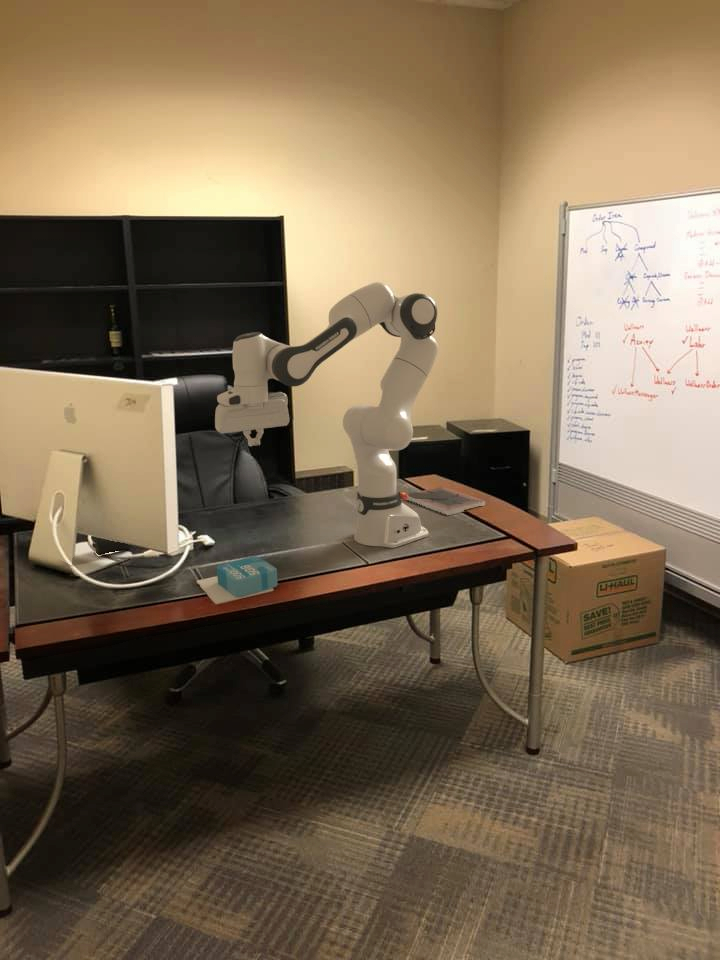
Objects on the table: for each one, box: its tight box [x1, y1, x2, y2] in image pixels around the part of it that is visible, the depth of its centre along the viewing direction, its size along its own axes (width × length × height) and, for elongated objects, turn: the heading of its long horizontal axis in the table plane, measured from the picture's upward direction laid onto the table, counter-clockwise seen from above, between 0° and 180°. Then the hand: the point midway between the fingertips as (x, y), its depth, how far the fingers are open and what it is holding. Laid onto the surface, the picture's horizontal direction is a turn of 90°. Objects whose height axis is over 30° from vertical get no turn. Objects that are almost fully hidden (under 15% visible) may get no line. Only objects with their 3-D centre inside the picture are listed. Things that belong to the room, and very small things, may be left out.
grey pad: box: [196, 575, 275, 605], centre depth 188 cm, size 15×15×1 cm
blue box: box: [216, 556, 279, 597], centre depth 187 cm, size 12×4×12 cm
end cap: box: [90, 536, 134, 555], centre depth 211 cm, size 10×7×7 cm
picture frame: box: [406, 485, 486, 516], centre depth 251 cm, size 16×2×22 cm
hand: (254, 445), depth 201 cm, fingers closed
